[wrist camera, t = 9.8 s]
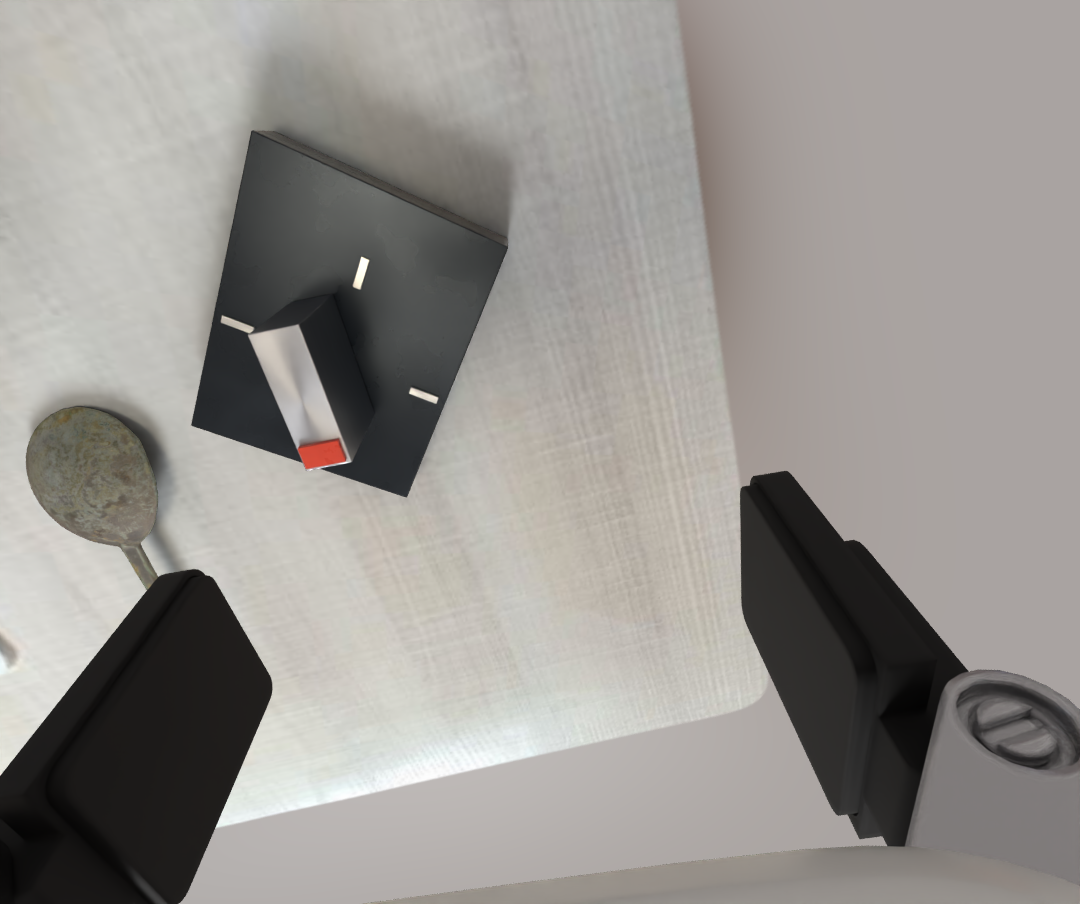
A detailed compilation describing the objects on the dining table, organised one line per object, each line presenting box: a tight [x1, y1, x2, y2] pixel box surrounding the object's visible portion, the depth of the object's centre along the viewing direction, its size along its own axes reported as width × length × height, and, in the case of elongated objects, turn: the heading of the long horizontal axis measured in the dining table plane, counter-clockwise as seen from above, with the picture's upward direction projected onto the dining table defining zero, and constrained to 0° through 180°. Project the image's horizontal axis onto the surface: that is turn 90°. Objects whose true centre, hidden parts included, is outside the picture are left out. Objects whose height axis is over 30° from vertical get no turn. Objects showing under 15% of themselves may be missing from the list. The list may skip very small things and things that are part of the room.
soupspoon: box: [26, 407, 158, 590], centre depth 35 cm, size 22×3×7 cm
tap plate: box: [191, 130, 508, 497], centre depth 29 cm, size 14×11×3 cm
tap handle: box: [248, 294, 375, 471], centre depth 26 cm, size 6×2×5 cm, turn 11°
